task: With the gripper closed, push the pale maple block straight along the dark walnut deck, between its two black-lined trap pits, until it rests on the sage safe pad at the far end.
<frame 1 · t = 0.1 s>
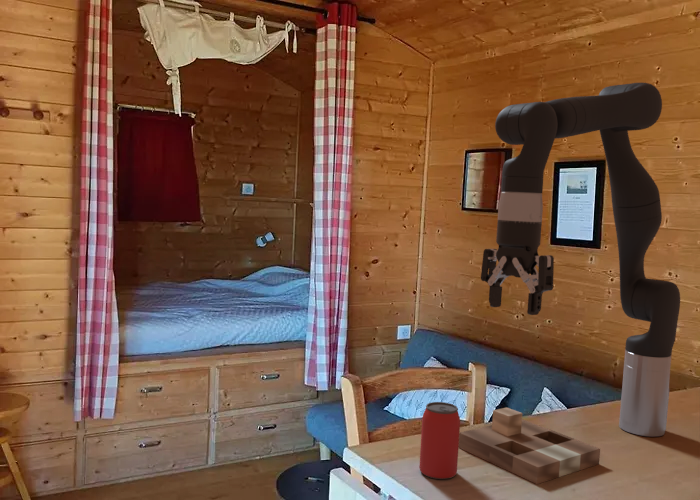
hand: (513, 310, 118), 29 cm above the table, tool pointing down, fingers open, 8 cm apart
beer can: (437, 474, 118), on the table
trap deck: (527, 455, 128), on the table
maple block: (506, 431, 132), point 3 cm above the table, touching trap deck
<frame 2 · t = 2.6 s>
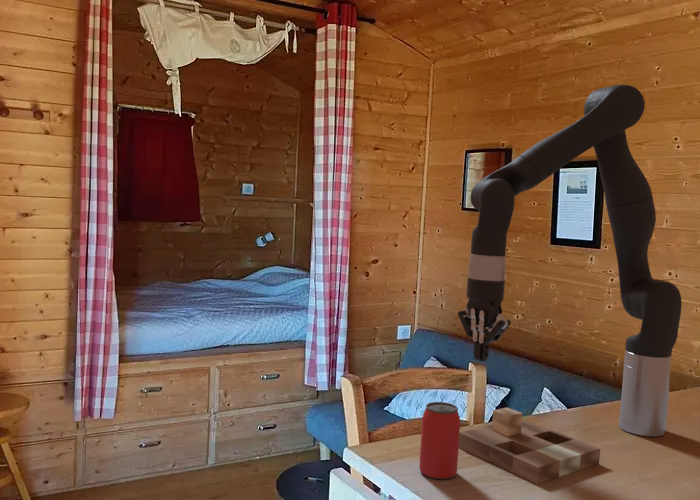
hand: (480, 360, 137), 16 cm above the table, tool pointing down, fingers closed
nothing on the table moved.
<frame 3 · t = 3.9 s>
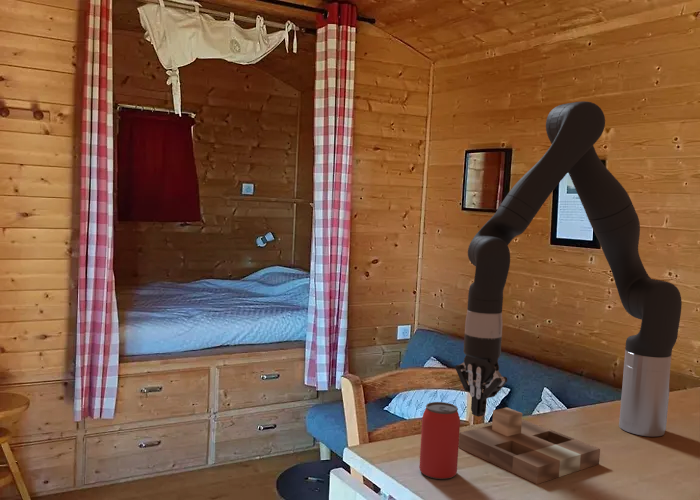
hand: (477, 414, 138), 4 cm above the table, tool pointing down, fingers closed
nothing on the table moved.
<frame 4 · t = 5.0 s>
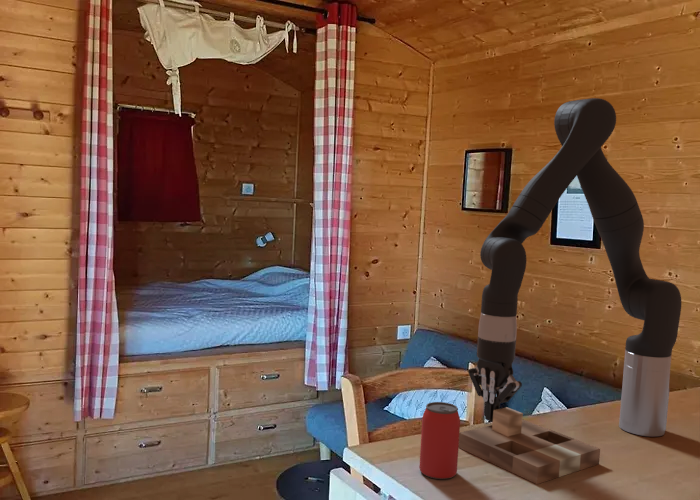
hand: (491, 419, 135), 4 cm above the table, tool pointing down, fingers closed
maple block: (506, 431, 132), point 3 cm above the table, touching gripper, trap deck
everything else where it was.
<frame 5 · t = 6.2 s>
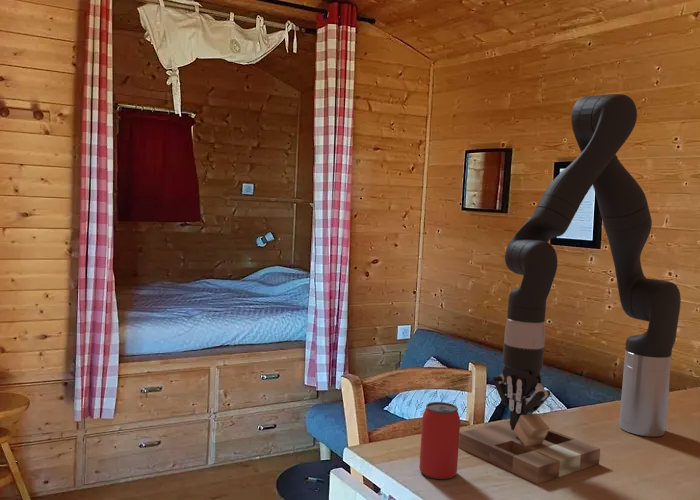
hand: (517, 430, 129), 4 cm above the table, tool pointing down, fingers closed
maple block: (527, 437, 127), point 4 cm above the table, tilted 25°, touching gripper, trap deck
everything else where it was.
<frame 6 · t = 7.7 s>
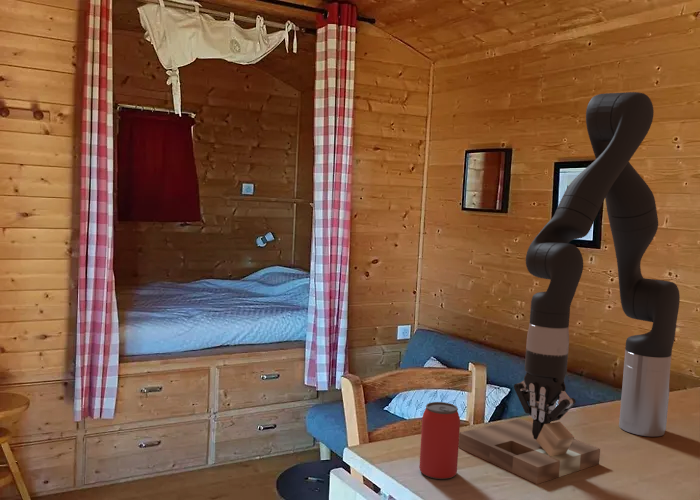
hand: (540, 439, 125), 4 cm above the table, tool pointing down, fingers closed
maple block: (550, 446, 122), point 4 cm above the table, tilted 25°, touching gripper
everything else where it was.
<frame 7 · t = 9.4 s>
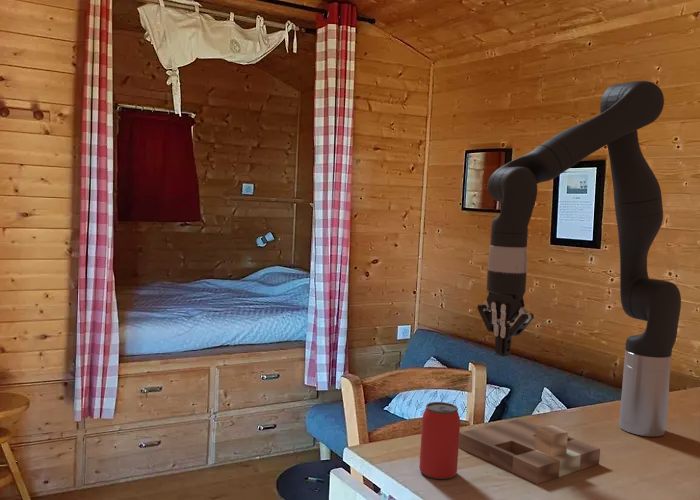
hand: (502, 355, 132), 18 cm above the table, tool pointing down, fingers closed
maple block: (550, 451, 122), point 3 cm above the table, touching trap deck
everything else where it was.
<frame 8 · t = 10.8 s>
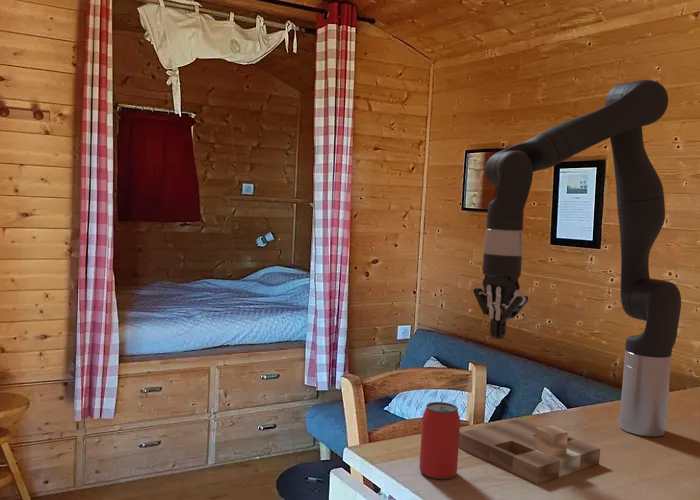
hand: (497, 338, 134), 21 cm above the table, tool pointing down, fingers closed
nothing on the table moved.
at the end: maple block 1.3 cm from the target spot on the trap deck, point 3.0 cm above the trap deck's base; maple block tilted 0° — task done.
